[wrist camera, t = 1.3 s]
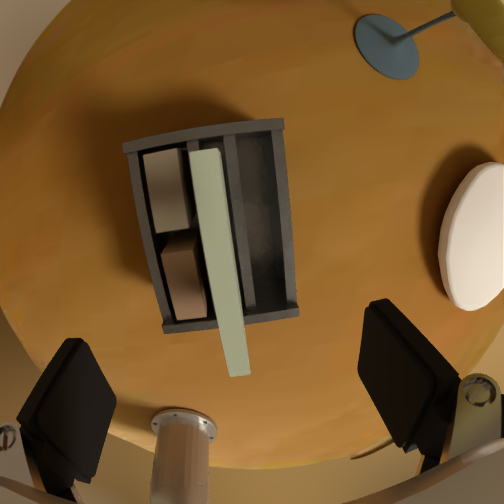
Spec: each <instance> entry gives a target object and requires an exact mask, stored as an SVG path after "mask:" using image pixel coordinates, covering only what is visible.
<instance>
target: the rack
mask: <svg viewBox="0 0 504 504" xmlns="http://www.w3.org/2000/svg"><path fill="white" fill-rule="evenodd" d="M284 129H285V127H284V119H283V118H273V119H260V120H249V121H240V122H231V123H223V124H216V125H209V126H202V127H196V128H190V129H184V130H179V131H173V132H168V133H163V134H158V135H154V136H149V137H145V138H140V139H136V140H132V141H128V142H124V143H122V147H123V154H127V157H128V165H129V171H130V178H131V184H132V190H133V196H134V202H135V207H136V212H137V217H138V222H139V227H140V232H141V237H142V241H143V246H144V250H145V254H146V259H147V263H148V267H149V271H150V275H151V279H152V282H153V286H154V290H155V294H156V297H157V301H158V304H159V308H160V311H161V315H162V318H163V324H162V328H163V332H164V334H169V333H180V332H190V331H199V330H208V329H216V328H219V325H218V321H217V316H216V311H215V306H214V301H213V296H212V291H211V286H210V280H209V295H208V306H207V317H202V318H193V319H184V320H177V318H176V314H175V310H174V307H173V303H172V299H171V295H170V291H169V287H168V283H167V279H166V275H165V271H164V267H163V262H162V258H161V253H162V252H163V250H164V248H165V247H166V245H167V244H168V242H169V241H170V239H171V237H172V236H173V234H174V233H175V232H179V231H185V230H192V229H198V228H199V229H200V224H199V217H198V211H197V205H196V211H197V213H196V215H195V217H194V219H193V221H192V223H191V225H190V227H189V228H186V229H179V230H173V231H166V232H160V233H156V230H155V225H154V219H153V214H152V209H151V203H150V197H149V191H148V185H147V179H146V173H145V166H144V159H143V155H145V154H150V153H155V152H160V151H165V150H170V149H175V148H178V149H182V150H186V151H188V155H189V152H193V151H199V150H206V149H213V148H218V150H219V151H220V153H221V155H222V162H223V170H224V178H225V185H226V193H227V200H228V208H229V215H230V222H231V230H232V237H233V244H234V251H235V258H236V265H237V272H238V280H239V288H240V296H241V304H242V312H243V320H244V325H246V324H253V323H260V322H266V321H273V320H279V319H285V318H291V317H297V316H299V307H298V305H297V299H296V281H295V264H294V250H293V236H292V223H291V211H290V199H289V188H288V178H287V168H286V158H285V149H284V140H283V131H282V130H284ZM189 163H190V156H189ZM190 170H191V163H190ZM191 177H192V171H191ZM192 184H193V178H192ZM193 191H194V185H193ZM194 198H195V192H194ZM195 204H196V198H195ZM200 235H201V230H200ZM201 241H202V236H201ZM202 247H203V241H202ZM203 252H204V247H203ZM204 258H205V253H204ZM205 263H206V259H205ZM206 269H207V264H206ZM207 274H208V270H207ZM208 279H209V275H208Z"/></svg>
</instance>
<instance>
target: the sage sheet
mask: <svg viewBox="0 0 504 504" xmlns="http://www.w3.org/2000/svg"><path fill="white" fill-rule="evenodd" d="M189 156H190V163H191V171H192V178H193V185H194V192H195V198H196V205H197V211H198V217H199V224H200V230H201V236H202V241H203V247H204V253H205V259H206V264H207V270H208V275H209V280H210V286H211V291H212V296H213V301H214V306H215V311H216V316H217V321H218V325H219V330H220V335H221V339H222V344H223V349H224V353H225V357H226V362H227V366H228V371H229V375H230V377H234V376H242V375H249V374H251V372H250V365H249V357H248V350H247V342H246V335H245V327H244V320H243V312H242V304H241V296H240V288H239V280H238V272H237V265H236V258H235V251H234V244H233V237H232V230H231V222H230V215H229V208H228V200H227V193H226V185H225V178H224V170H223V162H222V155H221V153H220V151H219V150H218V148H213V149H206V150H199V151H193V152H189Z"/></svg>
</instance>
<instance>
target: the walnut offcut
mask: <svg viewBox="0 0 504 504" xmlns="http://www.w3.org/2000/svg"><path fill="white" fill-rule="evenodd" d="M161 258H162V262H163V267H164V271H165V275H166V279H167V283H168V287H169V291H170V295H171V299H172V303H173V307H174V310H175V314H176V318H177V320H184V319H193V318H202V317H207V306H208V295H209V279H208V274H207V269H206V263H205V258H204V252H203V247H202V241H201V235H200V229H199V228H198V229H192V230H185V231H179V232H175V233H174V234H173V236H172V237H171V239H170V241H169V242H168V244H167V245H166V247H165V248H164V250H163V252H162V253H161Z"/></svg>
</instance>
